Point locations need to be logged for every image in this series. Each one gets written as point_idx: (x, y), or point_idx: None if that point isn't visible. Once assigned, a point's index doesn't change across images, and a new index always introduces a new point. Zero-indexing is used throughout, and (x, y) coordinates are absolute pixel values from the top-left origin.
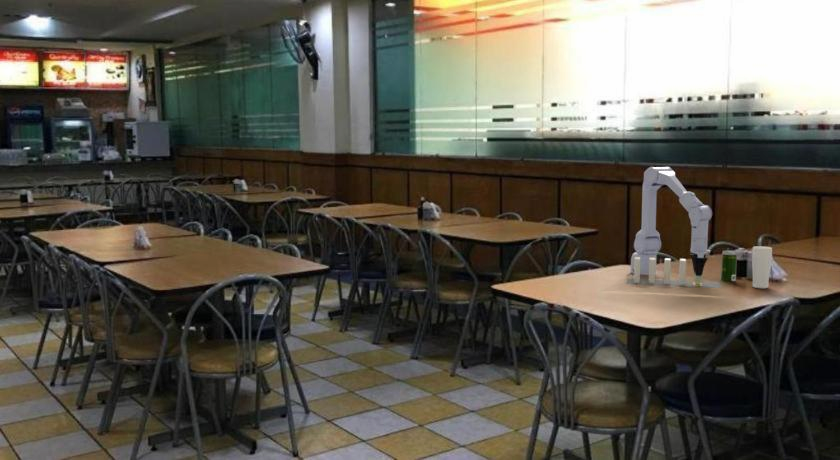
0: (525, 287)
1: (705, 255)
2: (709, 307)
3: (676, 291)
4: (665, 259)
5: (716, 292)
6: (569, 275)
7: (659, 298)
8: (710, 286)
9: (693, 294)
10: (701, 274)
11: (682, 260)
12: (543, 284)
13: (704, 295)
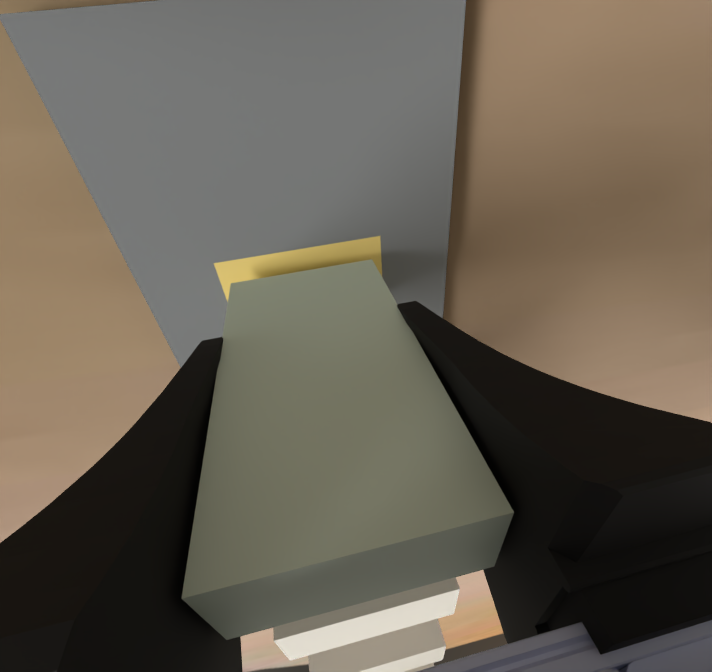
0: (494, 627)
1: (78, 640)
2: None
3: (542, 370)
4: (405, 670)
5: (596, 68)
6: (274, 660)
7: (706, 397)
8: (403, 147)
9: (649, 269)
10: (427, 310)
11: (436, 611)
12: (448, 630)
13: (703, 189)
